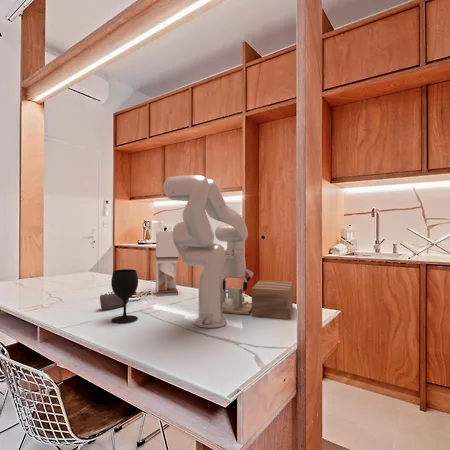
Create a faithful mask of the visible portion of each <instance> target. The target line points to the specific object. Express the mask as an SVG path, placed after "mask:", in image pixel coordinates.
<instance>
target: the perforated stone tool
mask: <svg viewBox="0 0 450 450" xmlns="http://www.w3.org/2000/svg"><path fill="white" fill-rule="evenodd" d="M129 301H130V298H129V299H127V302H126V305H127V304H128V303H129ZM99 303H100V308H101V310H102V311H103V310H106V311H107V310H114V309H117V308H121V307H124V306H123V300H122V299H120V298H119V297H118V296H116V295H115V293H110V294H100V295H99Z"/></svg>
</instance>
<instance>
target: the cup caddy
mask: <svg viewBox="0 0 450 450" xmlns="http://www.w3.org/2000/svg"><path fill="white" fill-rule="evenodd" d="M248 303H249V301H247V300H245V294H244V293H243V288H239V287H232V286H231V287H228V288H227V297H226V298H225V305H223V309H226V310H232V311H233V310H235V309H237V308H240V307H242V306H245V305H247V304H248Z"/></svg>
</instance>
